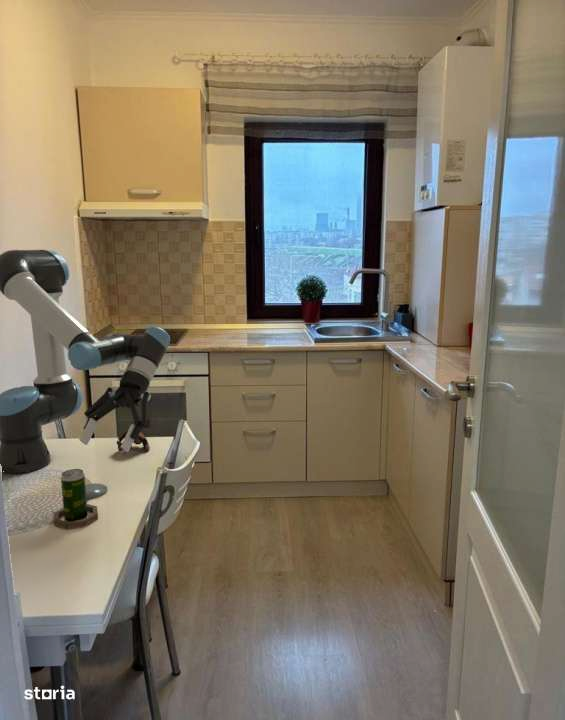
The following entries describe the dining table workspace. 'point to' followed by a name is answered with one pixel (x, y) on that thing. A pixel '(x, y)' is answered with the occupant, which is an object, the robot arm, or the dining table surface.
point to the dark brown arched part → (139, 440)
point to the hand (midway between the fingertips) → (103, 446)
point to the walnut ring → (77, 523)
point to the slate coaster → (95, 490)
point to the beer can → (74, 495)
